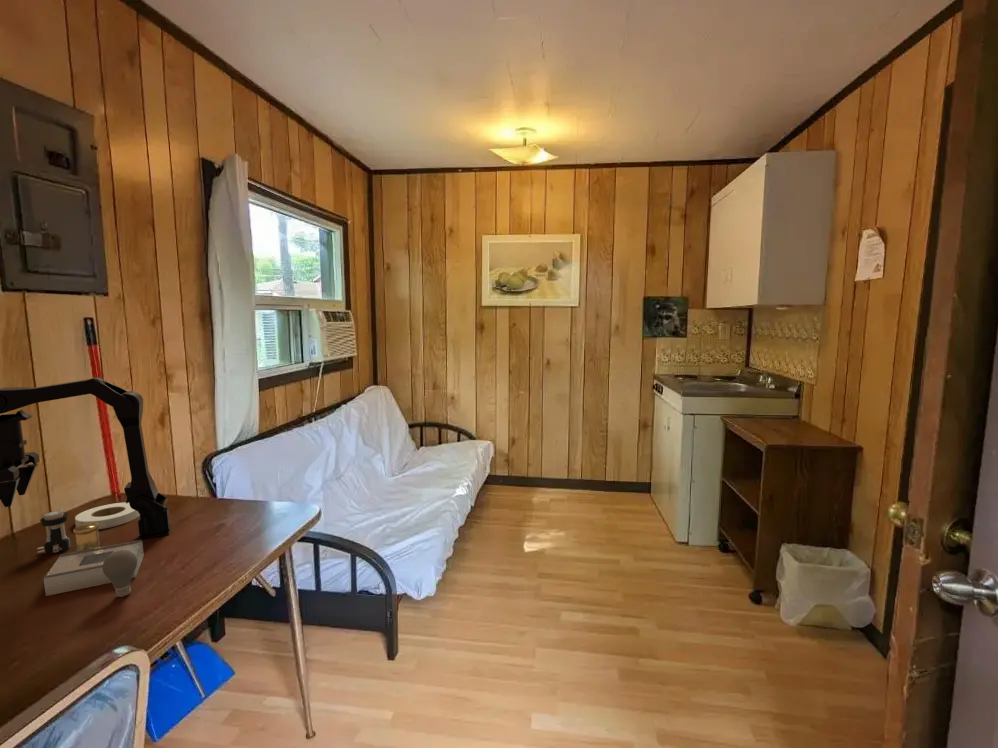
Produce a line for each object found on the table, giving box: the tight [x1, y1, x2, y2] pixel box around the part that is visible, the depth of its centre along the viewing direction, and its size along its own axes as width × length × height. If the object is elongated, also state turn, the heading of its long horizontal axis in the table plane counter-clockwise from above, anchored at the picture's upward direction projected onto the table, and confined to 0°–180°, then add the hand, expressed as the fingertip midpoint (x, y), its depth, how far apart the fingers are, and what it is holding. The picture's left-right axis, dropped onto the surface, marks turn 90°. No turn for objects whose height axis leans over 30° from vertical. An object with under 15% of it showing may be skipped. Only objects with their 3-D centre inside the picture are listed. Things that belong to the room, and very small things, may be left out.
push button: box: [36, 510, 71, 554], centre depth 131 cm, size 7×5×10 cm
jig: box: [43, 539, 145, 597], centre depth 119 cm, size 16×12×4 cm
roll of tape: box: [74, 501, 140, 530], centre depth 152 cm, size 16×15×3 cm
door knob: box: [72, 523, 101, 551], centre depth 128 cm, size 5×5×8 cm
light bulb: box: [102, 550, 137, 598], centre depth 110 cm, size 6×6×10 cm
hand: (15, 500), depth 127 cm, fingers open, 9 cm apart
